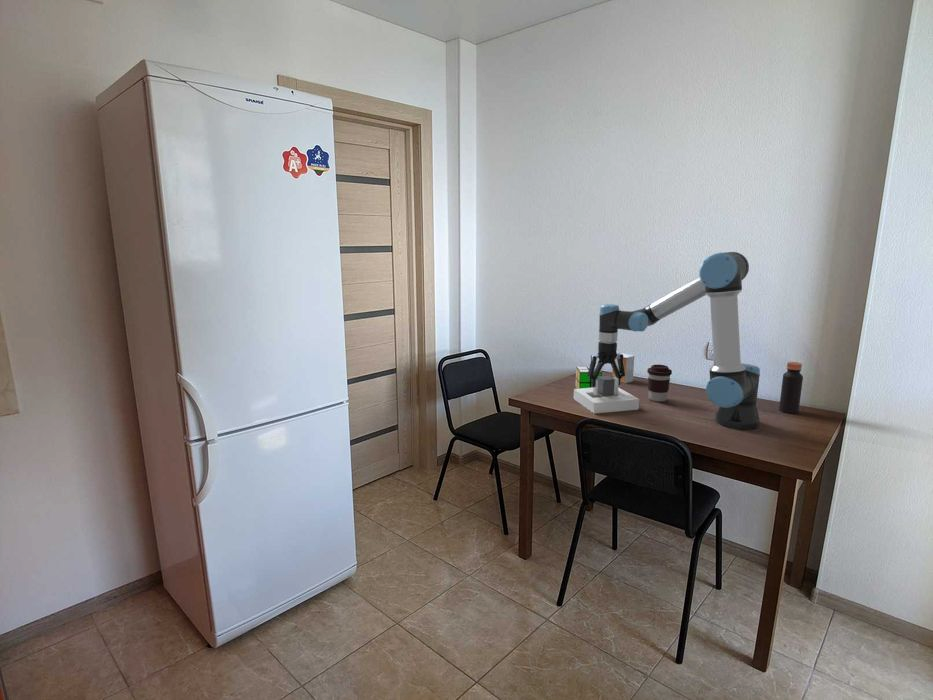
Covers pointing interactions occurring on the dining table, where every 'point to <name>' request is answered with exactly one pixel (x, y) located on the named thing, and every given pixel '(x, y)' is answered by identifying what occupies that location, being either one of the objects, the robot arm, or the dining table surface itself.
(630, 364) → the small box
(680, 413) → the dining table surface
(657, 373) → the coffee cup
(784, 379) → the bottle
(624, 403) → the socket plate
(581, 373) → the puzzle cube
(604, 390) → the plug
